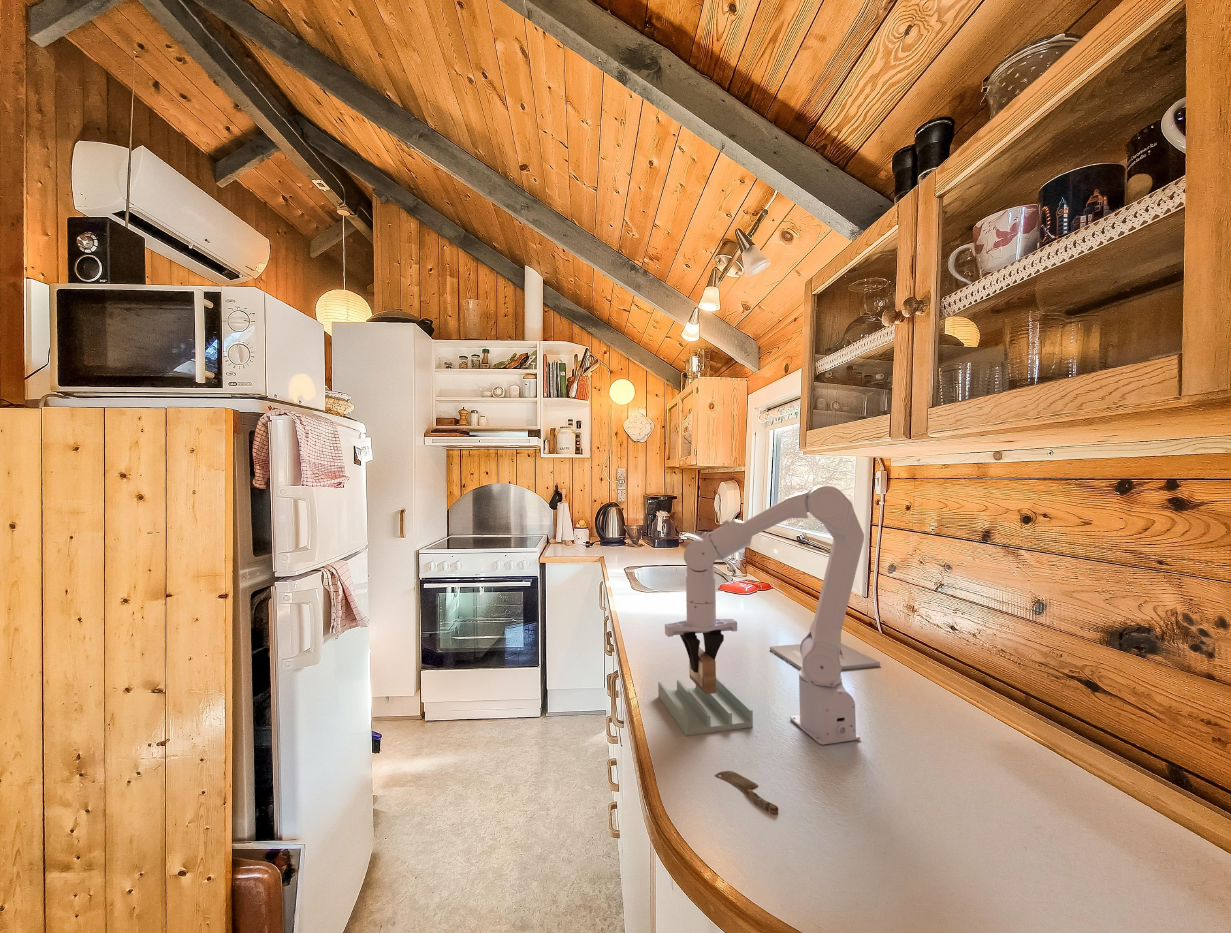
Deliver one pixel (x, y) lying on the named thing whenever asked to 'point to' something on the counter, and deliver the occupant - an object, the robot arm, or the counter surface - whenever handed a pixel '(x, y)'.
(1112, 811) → the counter surface
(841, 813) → the counter surface
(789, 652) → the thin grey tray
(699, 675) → the tan wooden slab
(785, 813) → the counter surface
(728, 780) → the brown knife
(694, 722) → the notched rack
